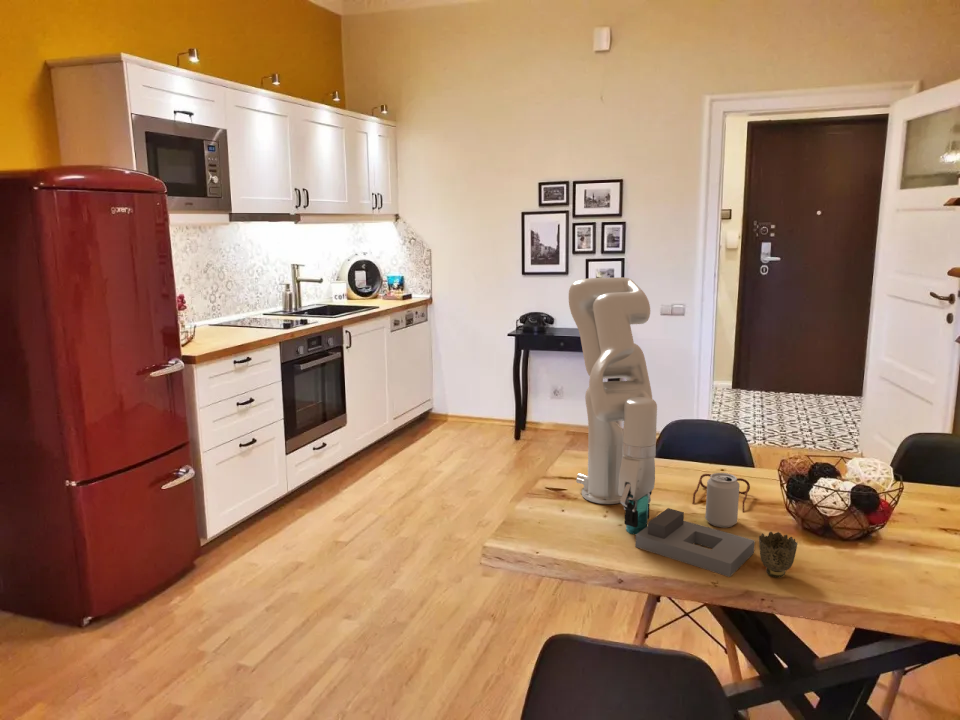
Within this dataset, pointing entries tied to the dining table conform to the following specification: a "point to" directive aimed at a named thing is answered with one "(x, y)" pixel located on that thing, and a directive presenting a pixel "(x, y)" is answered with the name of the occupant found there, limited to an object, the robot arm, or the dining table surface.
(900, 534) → the dining table surface
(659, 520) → the plate
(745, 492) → the glasses
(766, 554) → the cup
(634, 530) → the teal translucent cylinder
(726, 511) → the can
